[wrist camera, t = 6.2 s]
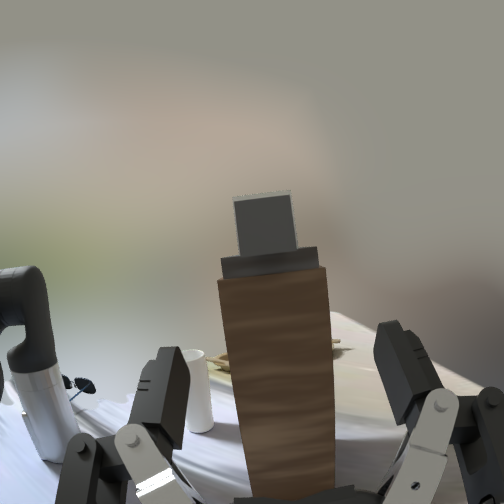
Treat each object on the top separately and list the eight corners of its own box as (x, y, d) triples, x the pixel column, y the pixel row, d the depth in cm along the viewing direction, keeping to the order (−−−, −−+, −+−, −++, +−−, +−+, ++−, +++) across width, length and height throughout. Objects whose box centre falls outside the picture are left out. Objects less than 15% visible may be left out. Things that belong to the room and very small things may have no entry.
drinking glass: (223, 430, 48) (209, 356, 48) (187, 439, 45) (169, 364, 45) (212, 415, 54) (199, 346, 54) (179, 422, 51) (164, 353, 51)
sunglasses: (99, 395, 64) (93, 379, 64) (67, 425, 50) (58, 408, 49) (57, 386, 68) (51, 371, 67) (26, 410, 53) (18, 394, 53)
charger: (317, 248, 19) (303, 154, 19) (220, 259, 19) (210, 166, 19) (292, 248, 39) (286, 201, 39) (245, 254, 39) (239, 207, 39)
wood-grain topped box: (334, 494, 28) (322, 244, 28) (254, 503, 28) (214, 257, 28) (320, 438, 42) (305, 246, 42) (258, 445, 42) (232, 254, 42)
